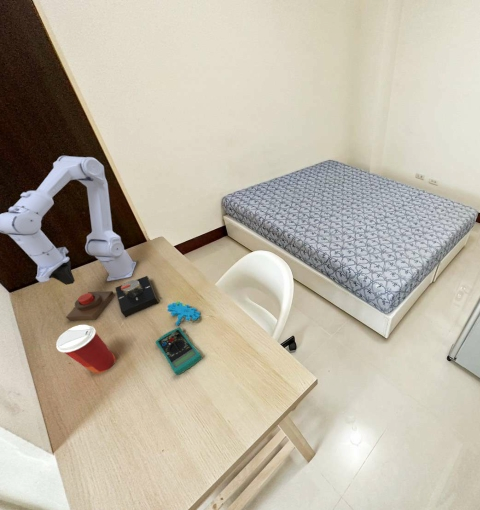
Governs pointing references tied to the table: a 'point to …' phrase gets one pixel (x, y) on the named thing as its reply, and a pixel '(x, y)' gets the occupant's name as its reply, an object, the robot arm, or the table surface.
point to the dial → (132, 288)
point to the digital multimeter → (178, 350)
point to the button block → (91, 307)
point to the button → (86, 298)
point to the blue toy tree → (183, 311)
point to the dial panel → (137, 298)
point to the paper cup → (86, 348)
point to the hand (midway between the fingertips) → (70, 282)
